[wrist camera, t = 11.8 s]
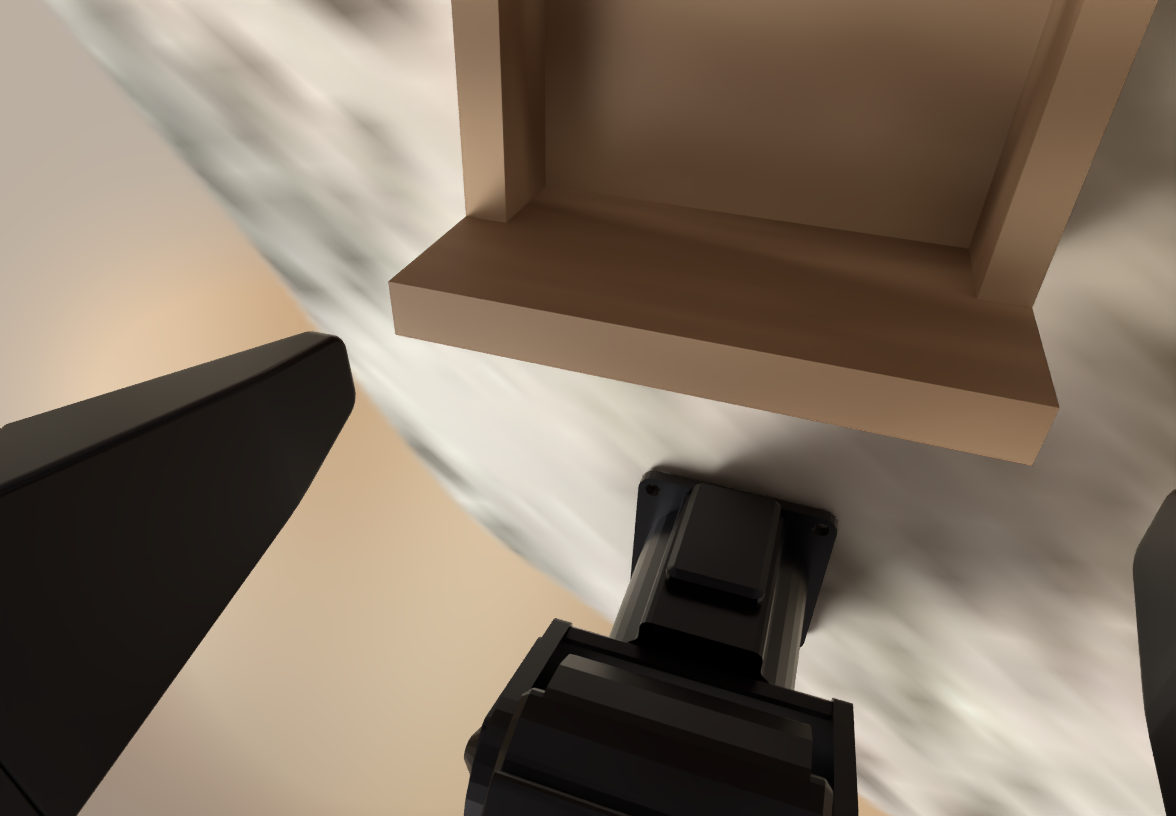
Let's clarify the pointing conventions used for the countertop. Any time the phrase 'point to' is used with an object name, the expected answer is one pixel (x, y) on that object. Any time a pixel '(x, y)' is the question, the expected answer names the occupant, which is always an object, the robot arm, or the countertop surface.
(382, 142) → the countertop surface
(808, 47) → the wooden l-shaped block
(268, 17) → the countertop surface
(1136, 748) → the countertop surface
